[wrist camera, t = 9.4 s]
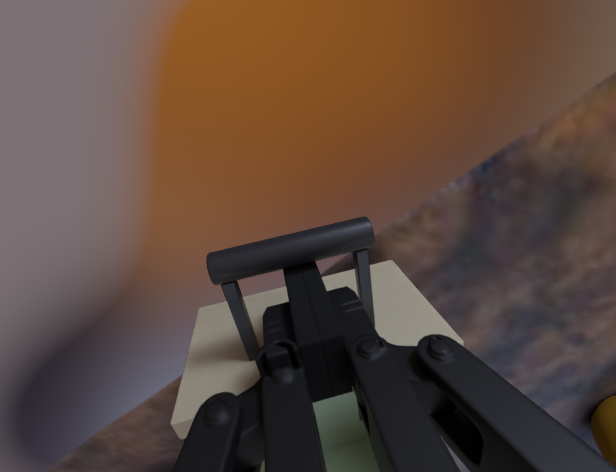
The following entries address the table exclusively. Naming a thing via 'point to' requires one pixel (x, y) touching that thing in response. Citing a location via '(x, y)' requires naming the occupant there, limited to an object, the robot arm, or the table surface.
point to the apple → (605, 428)
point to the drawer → (249, 309)
